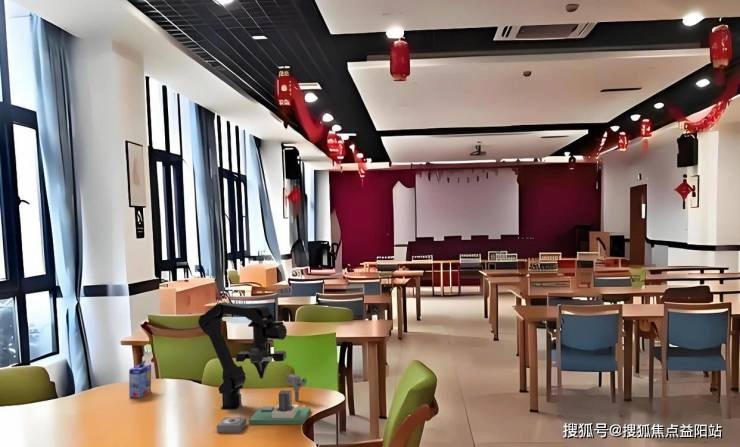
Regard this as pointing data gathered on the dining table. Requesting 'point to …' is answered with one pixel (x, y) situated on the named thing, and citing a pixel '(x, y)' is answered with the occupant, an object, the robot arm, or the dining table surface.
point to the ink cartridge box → (140, 380)
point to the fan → (231, 425)
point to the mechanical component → (296, 383)
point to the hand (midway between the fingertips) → (261, 378)
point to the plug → (285, 401)
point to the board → (280, 415)
